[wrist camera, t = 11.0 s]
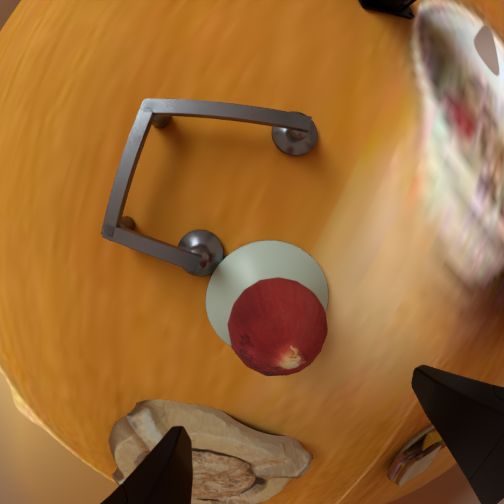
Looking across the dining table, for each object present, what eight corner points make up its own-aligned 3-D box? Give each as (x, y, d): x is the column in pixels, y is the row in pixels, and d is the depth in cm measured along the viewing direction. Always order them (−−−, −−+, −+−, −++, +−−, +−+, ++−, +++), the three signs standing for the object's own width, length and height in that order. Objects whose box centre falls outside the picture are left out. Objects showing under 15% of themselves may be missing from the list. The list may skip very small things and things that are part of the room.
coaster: (318, 229, 19) (320, 230, 19) (329, 337, 21) (332, 340, 20) (193, 253, 19) (192, 255, 18) (222, 360, 21) (221, 364, 20)
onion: (278, 349, 20) (297, 423, 12) (214, 314, 19) (202, 383, 11) (324, 291, 19) (371, 345, 12) (260, 248, 18) (276, 286, 11)
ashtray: (197, 350, 21) (190, 388, 16) (336, 456, 26) (347, 484, 21) (73, 432, 23) (60, 457, 18) (203, 507, 27) (202, 531, 22)
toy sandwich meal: (433, 453, 29) (444, 468, 25) (373, 476, 28) (383, 496, 24) (464, 405, 27) (479, 421, 22) (403, 430, 26) (418, 452, 21)
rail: (304, 86, 17) (316, 69, 14) (334, 247, 20) (352, 257, 16) (102, 129, 16) (82, 120, 13) (133, 287, 19) (118, 303, 16)
